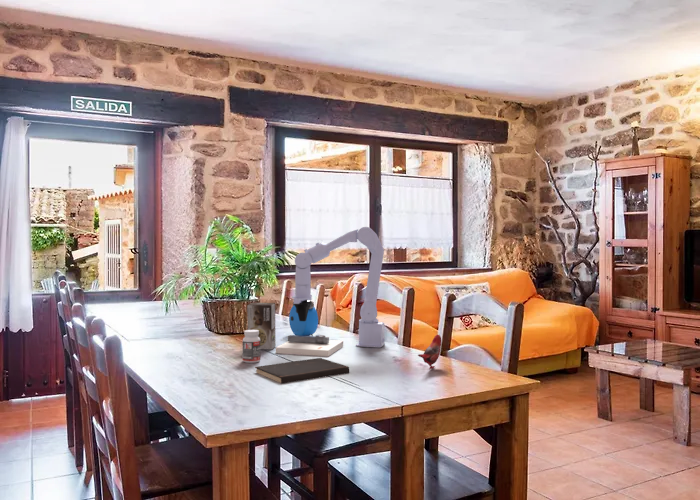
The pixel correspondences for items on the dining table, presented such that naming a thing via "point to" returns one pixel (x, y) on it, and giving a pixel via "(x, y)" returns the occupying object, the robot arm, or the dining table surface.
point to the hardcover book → (301, 370)
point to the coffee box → (263, 323)
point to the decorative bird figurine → (432, 352)
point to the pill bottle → (251, 346)
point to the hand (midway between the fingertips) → (302, 321)
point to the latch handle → (309, 339)
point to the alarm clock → (304, 326)
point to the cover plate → (310, 348)
